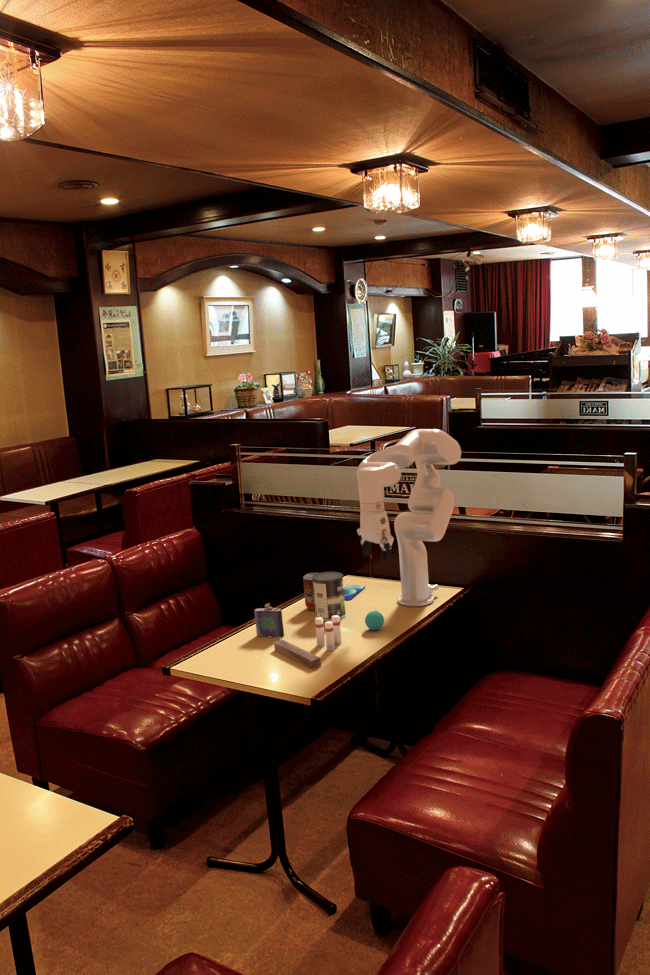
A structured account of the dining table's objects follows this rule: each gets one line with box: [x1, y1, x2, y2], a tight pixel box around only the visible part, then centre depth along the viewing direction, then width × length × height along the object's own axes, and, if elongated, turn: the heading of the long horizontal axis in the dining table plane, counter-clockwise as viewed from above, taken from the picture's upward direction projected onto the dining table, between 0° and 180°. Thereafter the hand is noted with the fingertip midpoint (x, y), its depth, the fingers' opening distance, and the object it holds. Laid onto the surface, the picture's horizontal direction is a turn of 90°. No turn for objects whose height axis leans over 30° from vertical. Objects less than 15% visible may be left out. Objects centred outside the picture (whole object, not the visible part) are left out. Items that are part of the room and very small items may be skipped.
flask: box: [253, 602, 285, 638], centre depth 238 cm, size 9×3×11 cm, turn 73°
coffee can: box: [312, 571, 346, 622], centre depth 251 cm, size 10×10×14 cm
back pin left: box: [324, 621, 336, 652], centre depth 223 cm, size 2×2×8 cm
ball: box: [364, 610, 385, 631], centre depth 236 cm, size 6×6×6 cm
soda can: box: [302, 572, 319, 612], centre depth 260 cm, size 7×7×12 cm
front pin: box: [331, 615, 343, 645], centre depth 227 cm, size 2×2×8 cm
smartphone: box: [343, 584, 366, 601], centre depth 275 cm, size 8×1×15 cm
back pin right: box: [314, 617, 326, 648], centre depth 227 cm, size 2×2×8 cm
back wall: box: [273, 639, 322, 670], centre depth 219 cm, size 3×20×2 cm, turn 36°
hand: (376, 558), depth 237 cm, fingers open, 9 cm apart
